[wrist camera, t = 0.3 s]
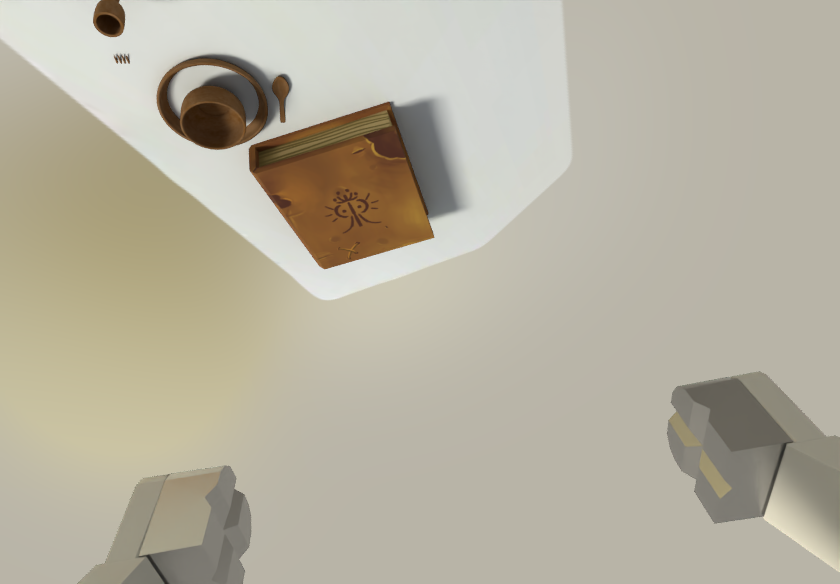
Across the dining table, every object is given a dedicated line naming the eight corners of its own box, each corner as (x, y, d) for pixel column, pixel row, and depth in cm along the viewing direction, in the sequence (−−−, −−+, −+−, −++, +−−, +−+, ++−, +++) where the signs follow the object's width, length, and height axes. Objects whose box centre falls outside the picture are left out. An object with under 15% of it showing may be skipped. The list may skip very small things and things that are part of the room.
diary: (248, 142, 72) (249, 175, 69) (388, 98, 70) (395, 130, 67) (316, 242, 91) (319, 271, 88) (427, 210, 89) (434, 238, 86)
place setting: (143, 138, 68) (139, 174, 65) (86, -29, 52) (78, 8, 49) (291, 136, 72) (294, 170, 69) (283, -20, 56) (286, 15, 52)
